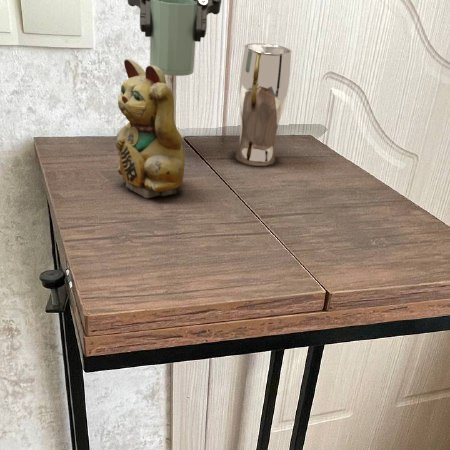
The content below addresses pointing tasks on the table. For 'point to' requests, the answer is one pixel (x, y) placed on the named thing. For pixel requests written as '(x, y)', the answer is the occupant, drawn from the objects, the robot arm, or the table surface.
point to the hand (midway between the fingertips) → (173, 35)
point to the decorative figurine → (149, 134)
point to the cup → (173, 36)
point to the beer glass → (261, 101)
